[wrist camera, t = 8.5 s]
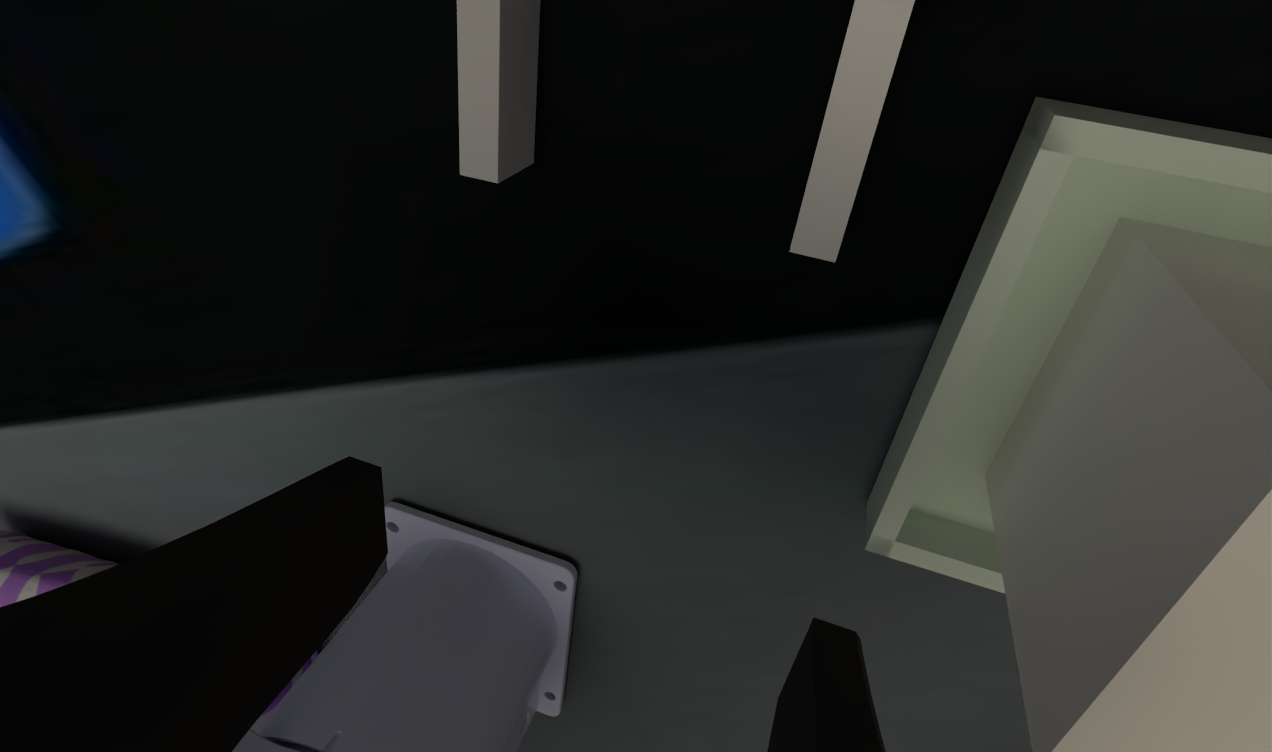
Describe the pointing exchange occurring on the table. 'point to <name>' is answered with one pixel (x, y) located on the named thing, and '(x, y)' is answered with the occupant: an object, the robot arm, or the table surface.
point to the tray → (1042, 304)
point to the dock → (507, 87)
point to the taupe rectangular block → (1146, 504)
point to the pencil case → (64, 579)
